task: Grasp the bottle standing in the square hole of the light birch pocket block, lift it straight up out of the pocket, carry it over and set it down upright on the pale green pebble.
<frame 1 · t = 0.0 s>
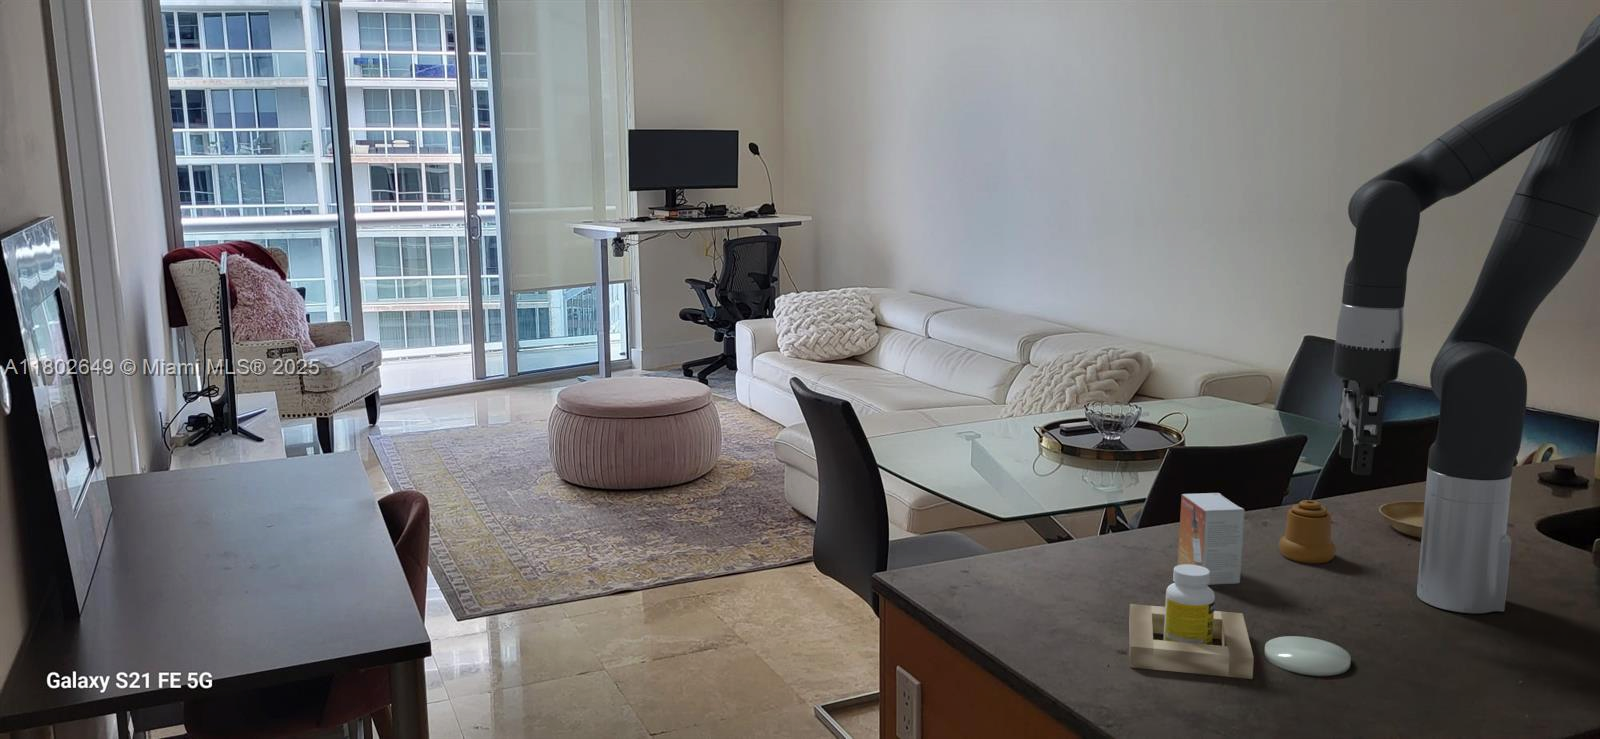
hand: (1354, 465, 151), 17 cm above the kitchen counter, tool pointing down, fingers open, 8 cm apart
pocket block: (1187, 649, 137), on the kitchen counter
pale green pebble: (1306, 658, 134), on the kitchen counter
supplement bottle: (1187, 651, 137), resting in pocket block
small box: (1208, 576, 161), on the kitchen counter
ornamental finial: (1306, 557, 168), on the kitchen counter
plant saucer: (1431, 532, 179), on the kitchen counter
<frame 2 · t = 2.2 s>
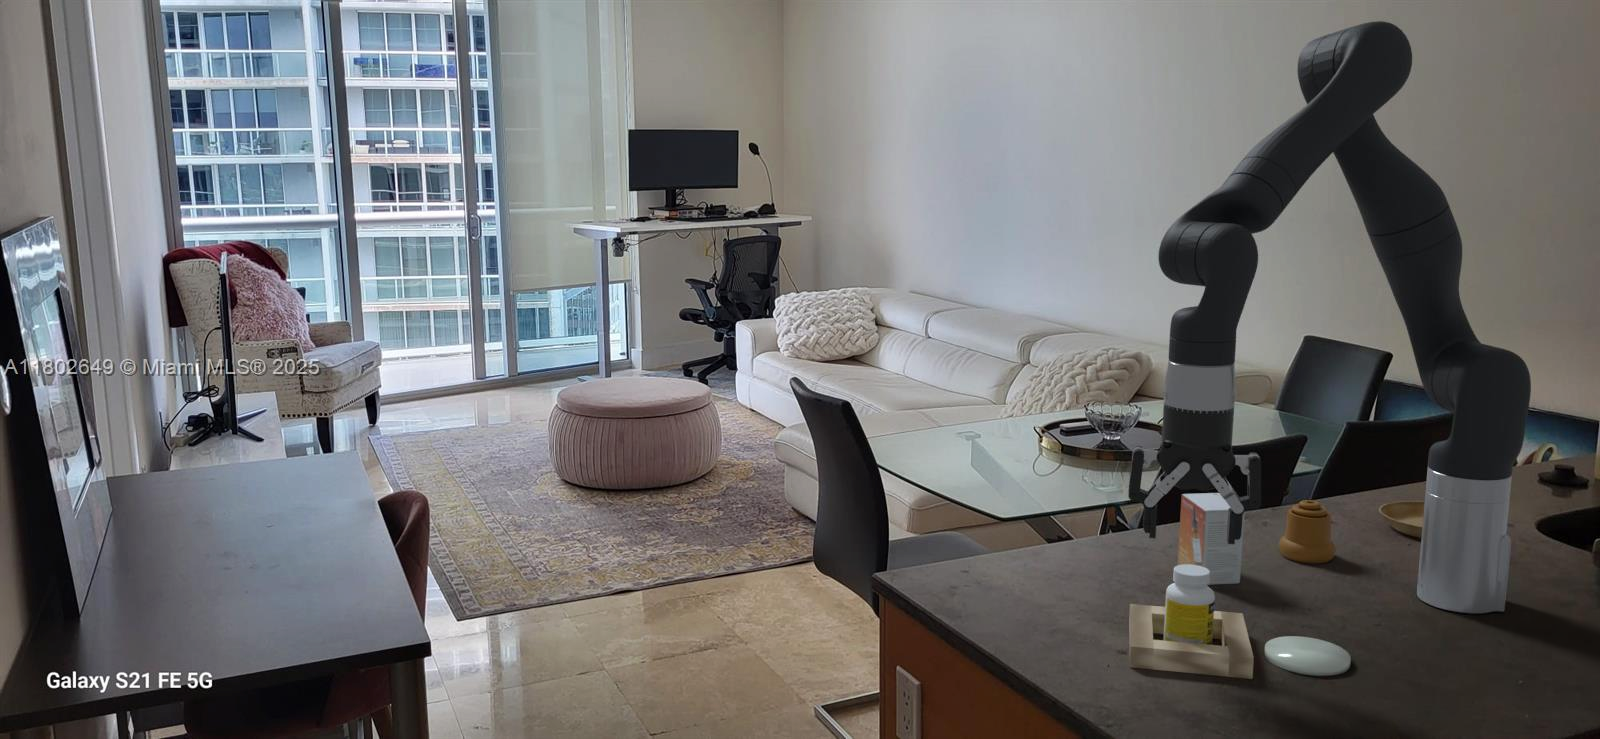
hand: (1190, 539, 135), 13 cm above the kitchen counter, tool pointing down, fingers open, 8 cm apart
nothing on the kitchen counter moved.
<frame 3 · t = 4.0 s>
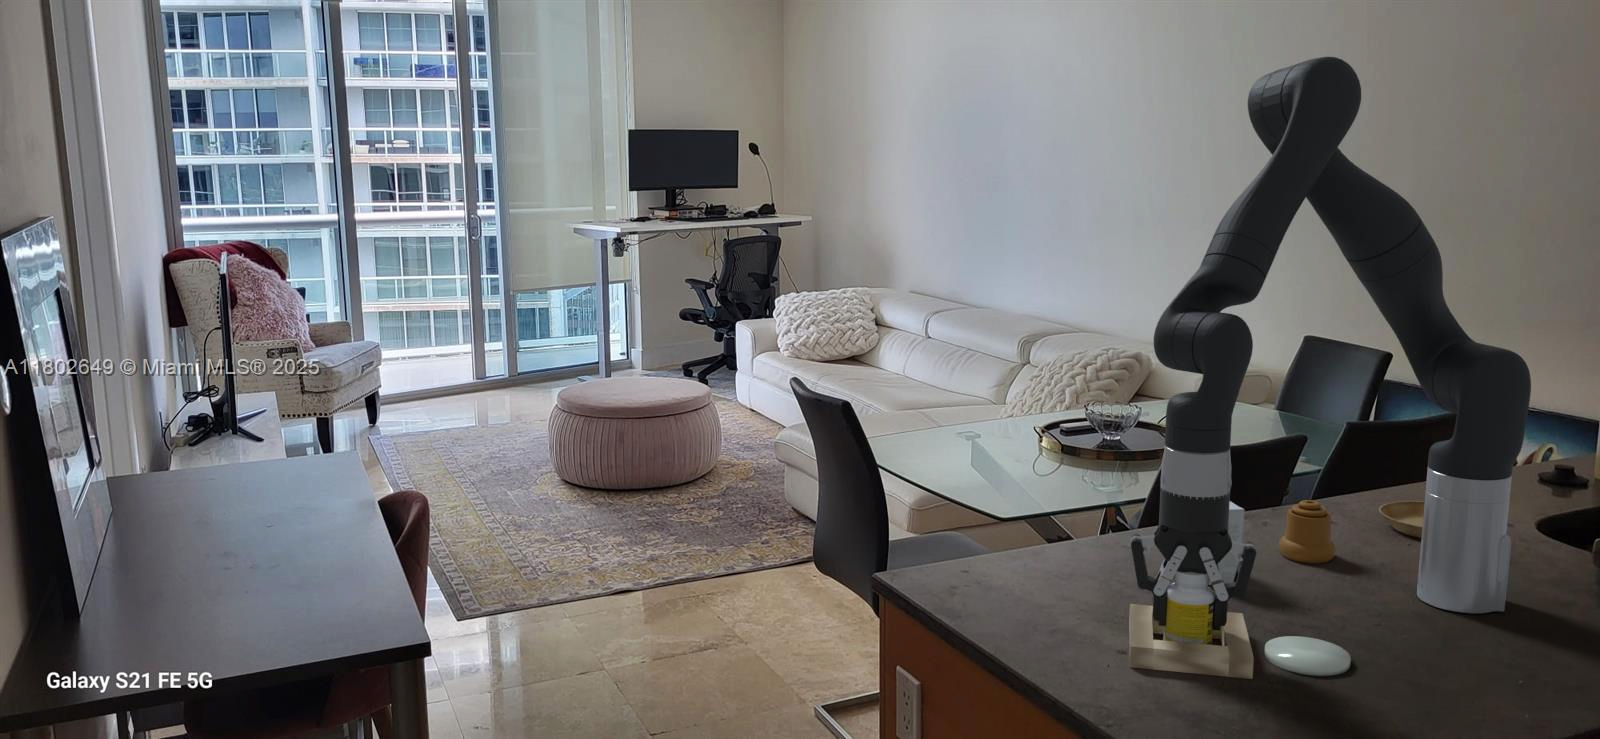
hand: (1188, 625, 137), 3 cm above the kitchen counter, tool pointing down, fingers closed on supplement bottle, 5 cm apart
supplement bottle: (1187, 651, 137), resting in pocket block, touching gripper
everything else where it was.
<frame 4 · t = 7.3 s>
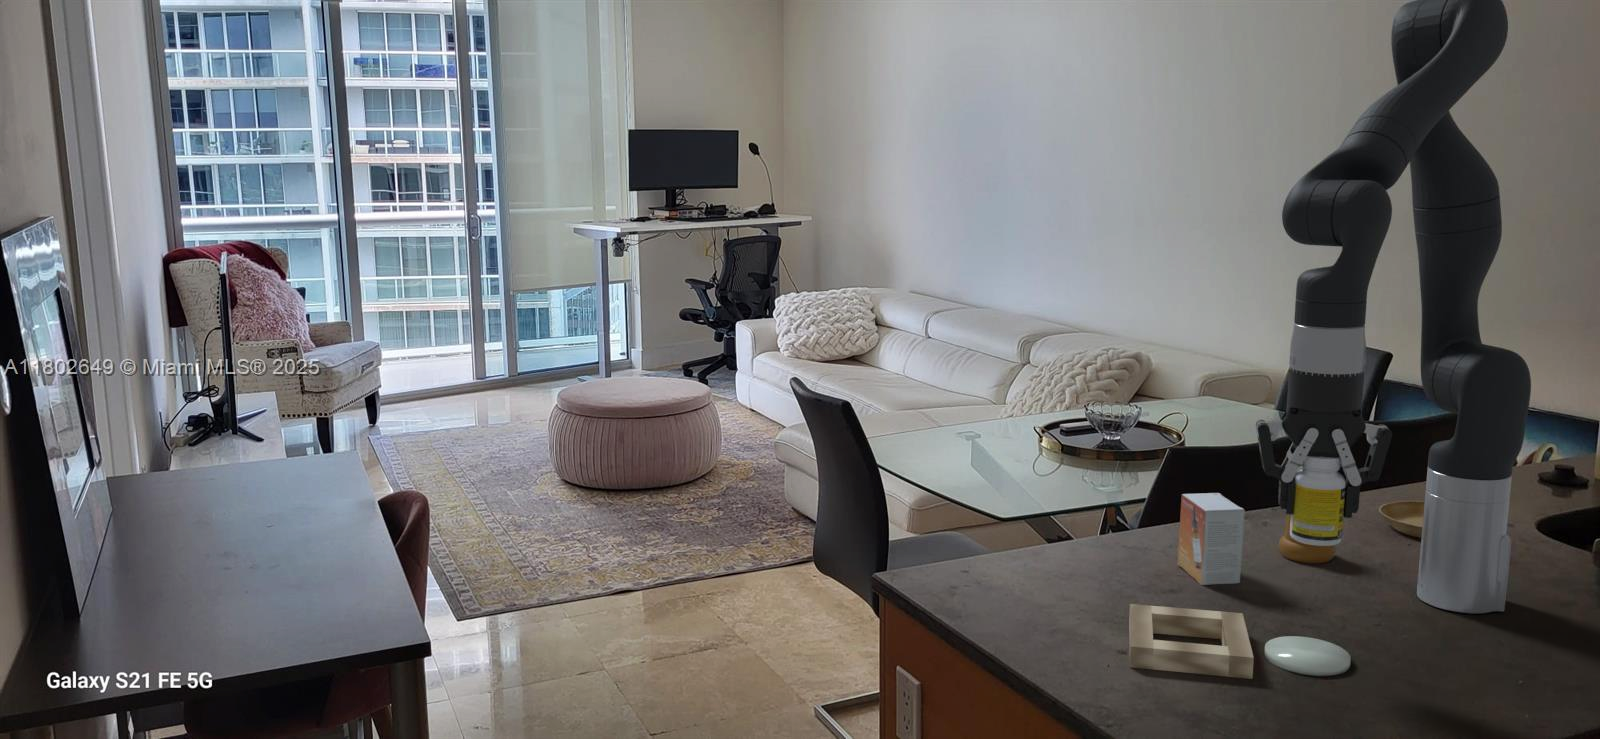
hand: (1317, 513, 131), 17 cm above the kitchen counter, tool pointing down, fingers closed on supplement bottle, 5 cm apart
supplement bottle: (1315, 541, 132), point 14 cm above the kitchen counter, touching gripper
everything else where it was.
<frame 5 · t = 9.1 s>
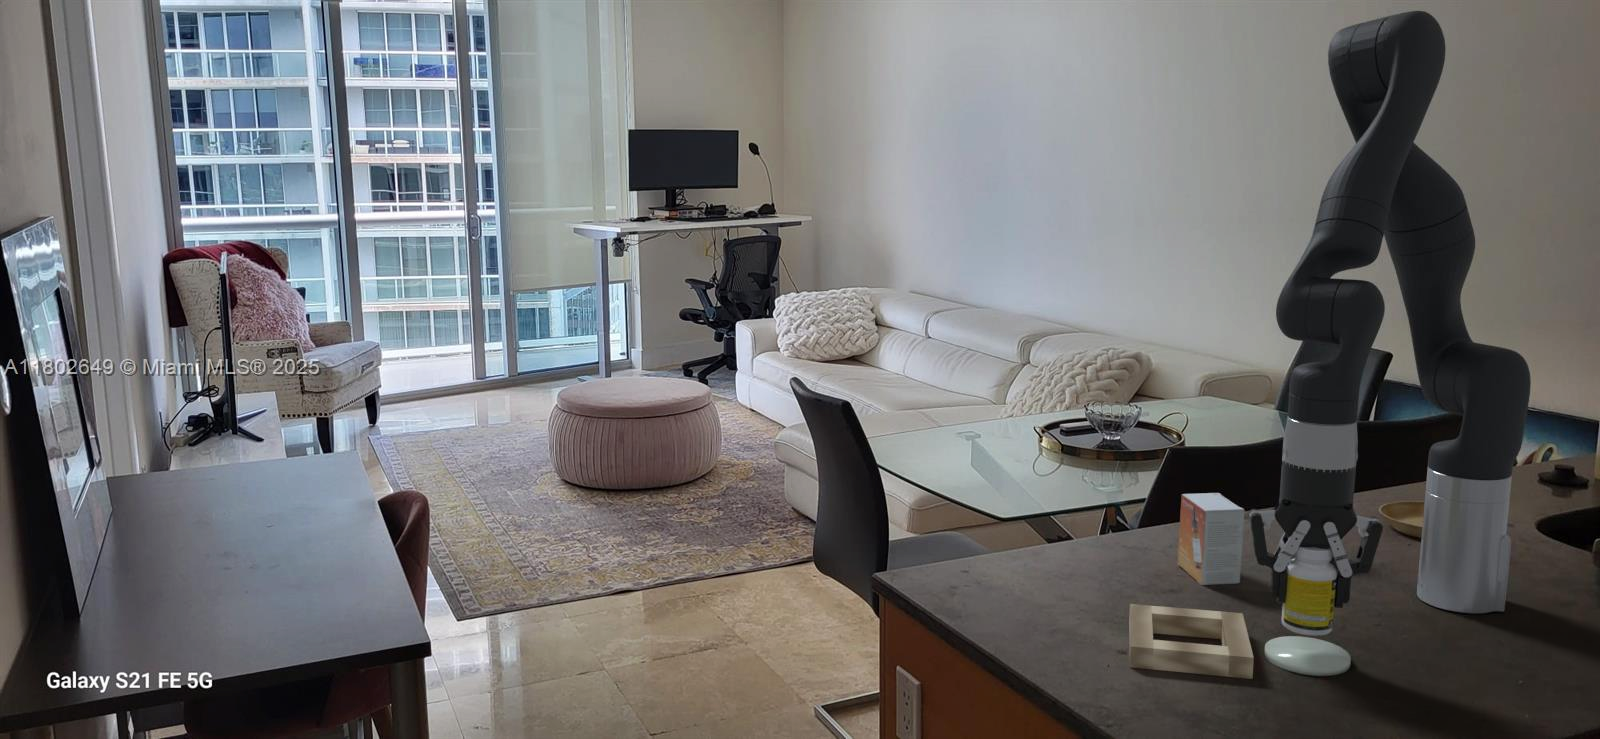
hand: (1308, 602, 133), 7 cm above the kitchen counter, tool pointing down, fingers closed on supplement bottle, 5 cm apart
supplement bottle: (1306, 629, 134), point 4 cm above the kitchen counter, touching gripper
everything else where it was.
when the fingers open (5 cm above the kitchen counter, at t = 10.4 s): supplement bottle drops 1 cm, resting on pale green pebble.
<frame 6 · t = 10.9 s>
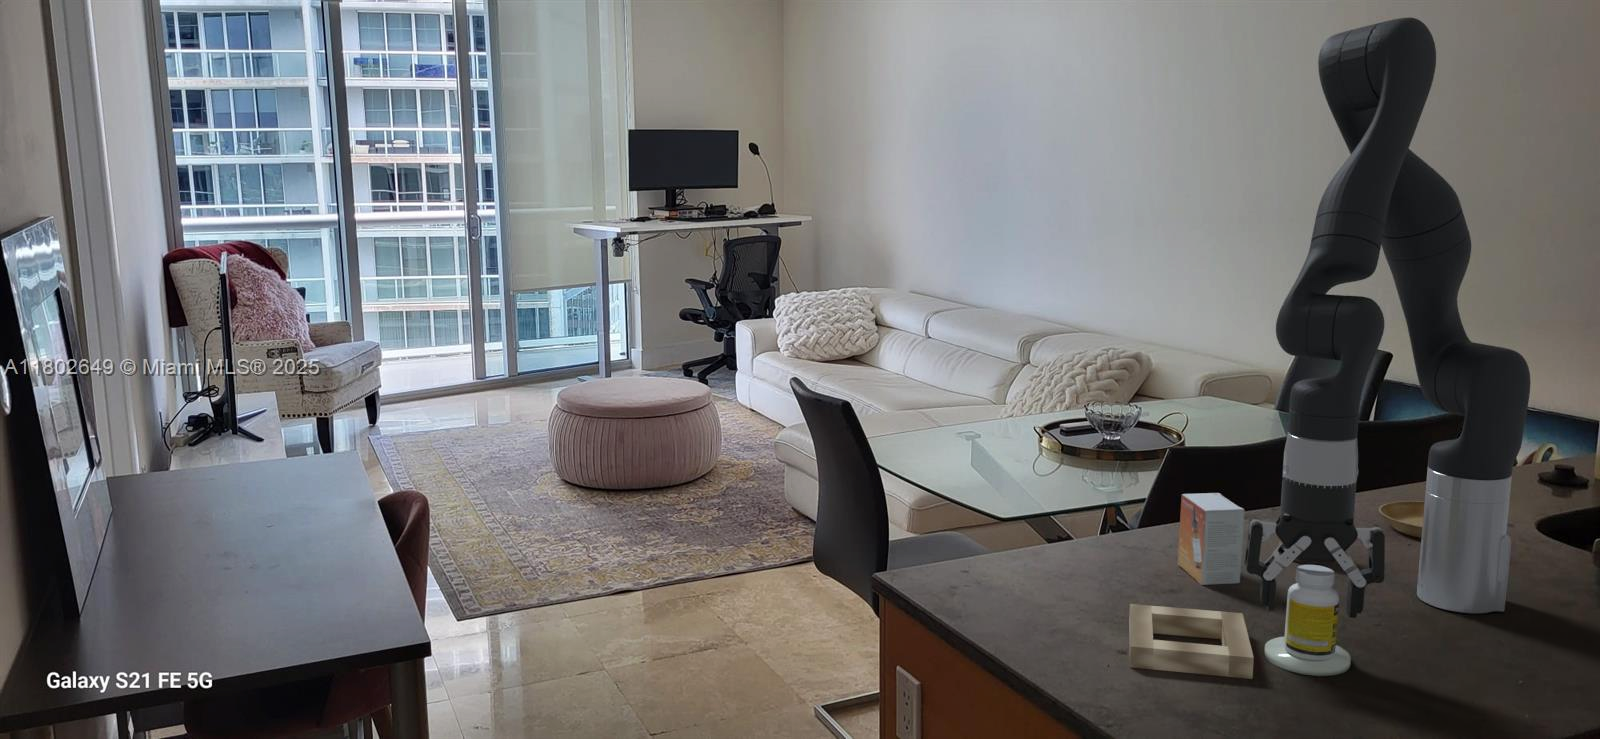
hand: (1309, 612, 133), 6 cm above the kitchen counter, tool pointing down, fingers open, 8 cm apart
supplement bottle: (1309, 653, 134), point 1 cm above the kitchen counter, touching pale green pebble
everything else where it was.
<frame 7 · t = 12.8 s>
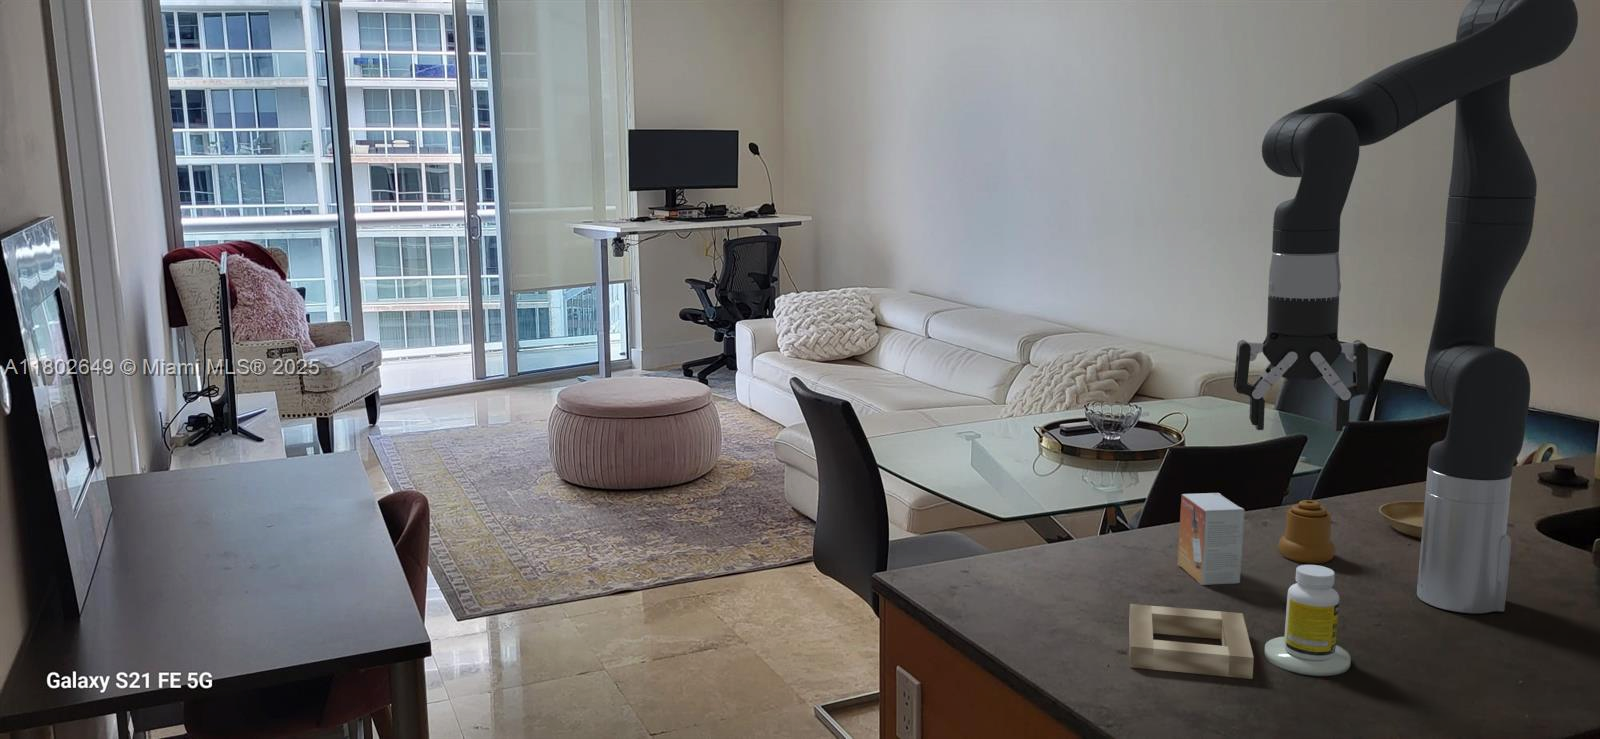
hand: (1297, 429, 138), 25 cm above the kitchen counter, tool pointing down, fingers open, 8 cm apart
nothing on the kitchen counter moved.
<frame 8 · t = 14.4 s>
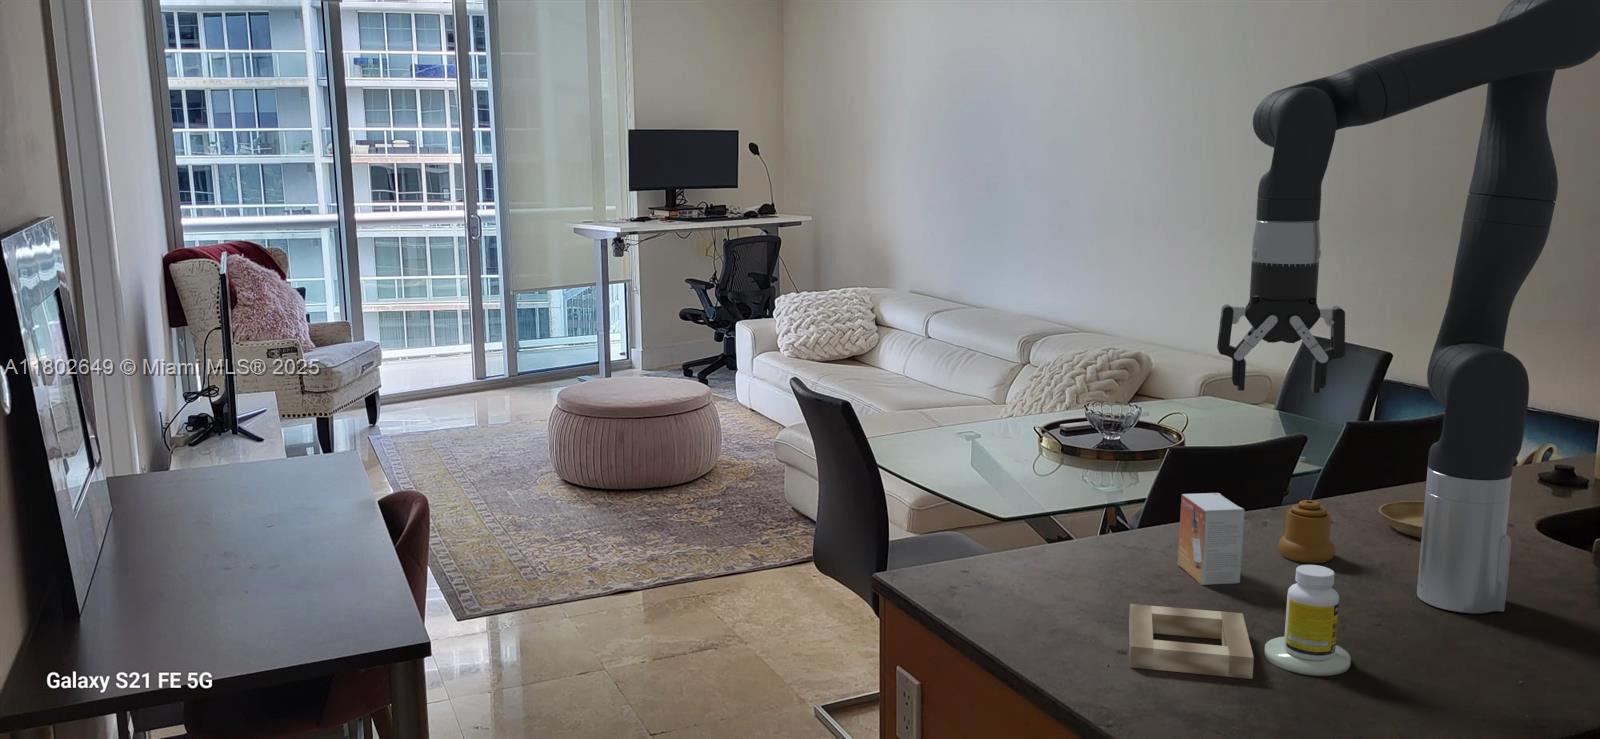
hand: (1277, 390, 144), 28 cm above the kitchen counter, tool pointing down, fingers open, 8 cm apart
nothing on the kitchen counter moved.
at the end: supplement bottle 0.2 cm from the pale green pebble (horizontally); supplement bottle tilted 0°; the gripper is holding nothing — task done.
